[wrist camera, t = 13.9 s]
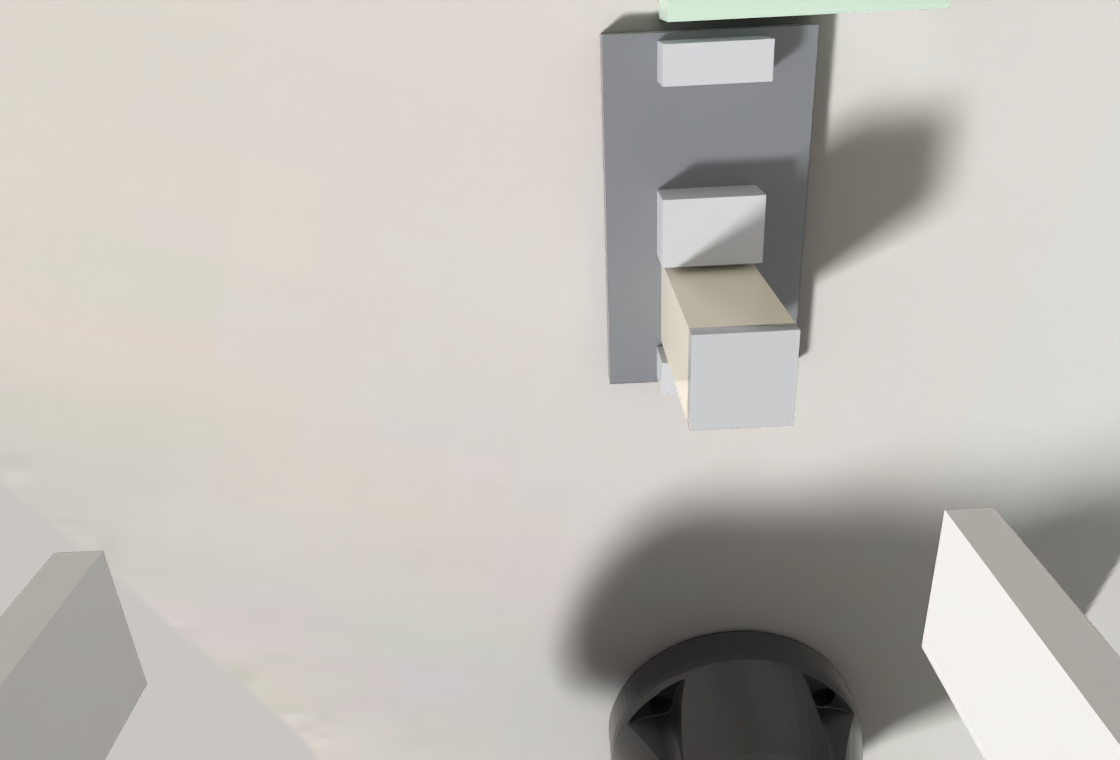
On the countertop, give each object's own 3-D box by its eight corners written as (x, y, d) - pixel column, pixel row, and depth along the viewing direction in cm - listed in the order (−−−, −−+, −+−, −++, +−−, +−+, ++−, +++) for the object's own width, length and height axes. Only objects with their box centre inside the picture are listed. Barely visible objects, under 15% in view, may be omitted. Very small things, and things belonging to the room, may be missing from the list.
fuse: (744, 336, 42) (793, 426, 34) (660, 340, 42) (689, 430, 34) (747, 256, 40) (800, 330, 32) (661, 260, 40) (691, 335, 32)
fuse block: (786, 364, 44) (804, 392, 41) (608, 373, 44) (613, 402, 41) (811, 23, 37) (833, 27, 34) (600, 33, 37) (605, 39, 34)
